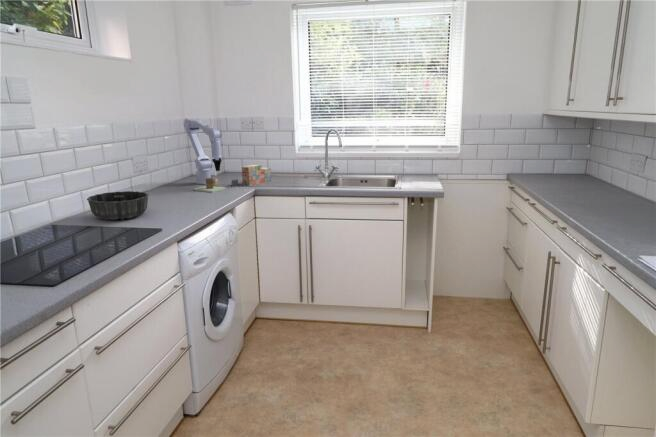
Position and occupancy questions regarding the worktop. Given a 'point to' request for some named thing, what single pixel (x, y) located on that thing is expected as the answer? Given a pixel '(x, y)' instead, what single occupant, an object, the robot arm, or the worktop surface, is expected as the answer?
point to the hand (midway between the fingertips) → (217, 170)
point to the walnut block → (209, 183)
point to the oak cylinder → (215, 182)
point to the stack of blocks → (255, 174)
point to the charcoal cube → (234, 182)
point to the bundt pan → (118, 204)
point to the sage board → (209, 189)
